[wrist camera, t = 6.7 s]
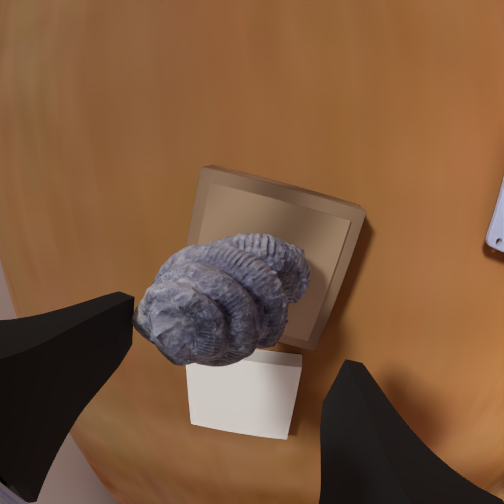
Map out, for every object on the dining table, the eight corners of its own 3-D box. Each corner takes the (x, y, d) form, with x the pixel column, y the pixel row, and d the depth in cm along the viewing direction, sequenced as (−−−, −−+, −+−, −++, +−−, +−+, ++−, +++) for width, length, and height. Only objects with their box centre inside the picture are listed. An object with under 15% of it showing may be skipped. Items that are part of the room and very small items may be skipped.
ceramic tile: (302, 354, 21) (301, 367, 20) (287, 426, 24) (286, 439, 23) (191, 338, 22) (185, 350, 21) (196, 411, 25) (191, 423, 24)
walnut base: (360, 205, 18) (366, 212, 16) (314, 334, 21) (314, 352, 19) (211, 165, 18) (200, 167, 16) (186, 297, 21) (175, 312, 19)
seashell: (272, 334, 18) (186, 444, 9) (204, 272, 19) (74, 326, 9) (335, 266, 16) (302, 345, 7) (259, 200, 17) (140, 195, 8)
